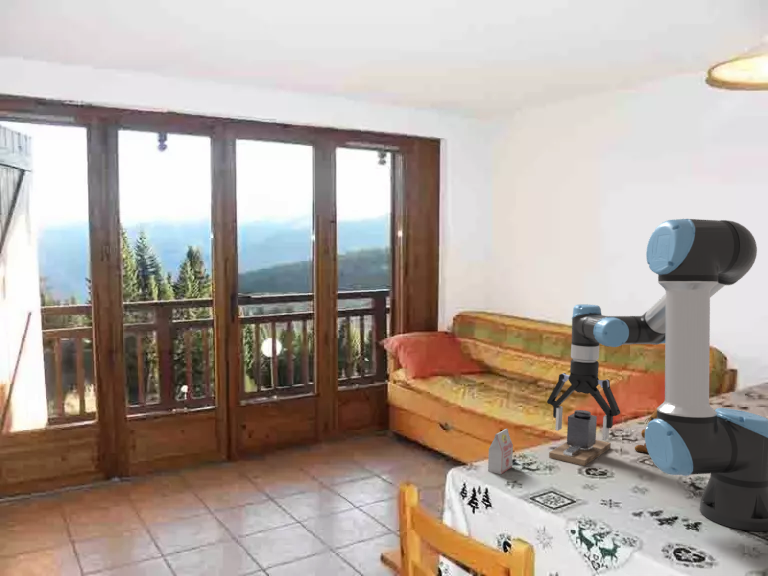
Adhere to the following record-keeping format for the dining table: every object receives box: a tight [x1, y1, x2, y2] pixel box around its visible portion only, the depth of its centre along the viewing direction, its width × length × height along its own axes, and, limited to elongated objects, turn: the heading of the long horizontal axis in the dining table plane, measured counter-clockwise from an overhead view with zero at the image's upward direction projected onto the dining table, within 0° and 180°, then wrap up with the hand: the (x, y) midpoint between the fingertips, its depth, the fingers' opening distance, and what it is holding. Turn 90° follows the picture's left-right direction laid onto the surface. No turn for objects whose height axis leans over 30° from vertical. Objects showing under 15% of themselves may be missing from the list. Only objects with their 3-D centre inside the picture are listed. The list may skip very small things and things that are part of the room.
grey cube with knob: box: [566, 409, 598, 449], centre depth 184 cm, size 6×6×9 cm
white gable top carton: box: [487, 428, 514, 475], centre depth 170 cm, size 4×7×10 cm, turn 145°
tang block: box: [548, 439, 612, 467], centre depth 184 cm, size 20×10×6 cm, turn 142°
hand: (581, 434), depth 184 cm, fingers open, 13 cm apart
